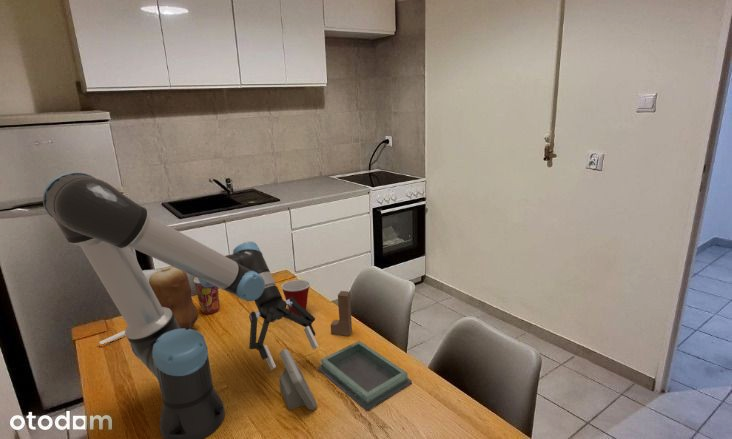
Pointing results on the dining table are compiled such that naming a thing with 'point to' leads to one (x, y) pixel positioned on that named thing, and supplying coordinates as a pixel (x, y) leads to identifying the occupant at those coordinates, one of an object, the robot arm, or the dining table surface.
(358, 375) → the keeper tray
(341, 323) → the wooden block
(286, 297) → the plastic cup
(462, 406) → the dining table surface
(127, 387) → the dining table surface
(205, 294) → the smoothie
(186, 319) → the butternut squash
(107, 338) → the marker
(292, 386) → the digital clock
